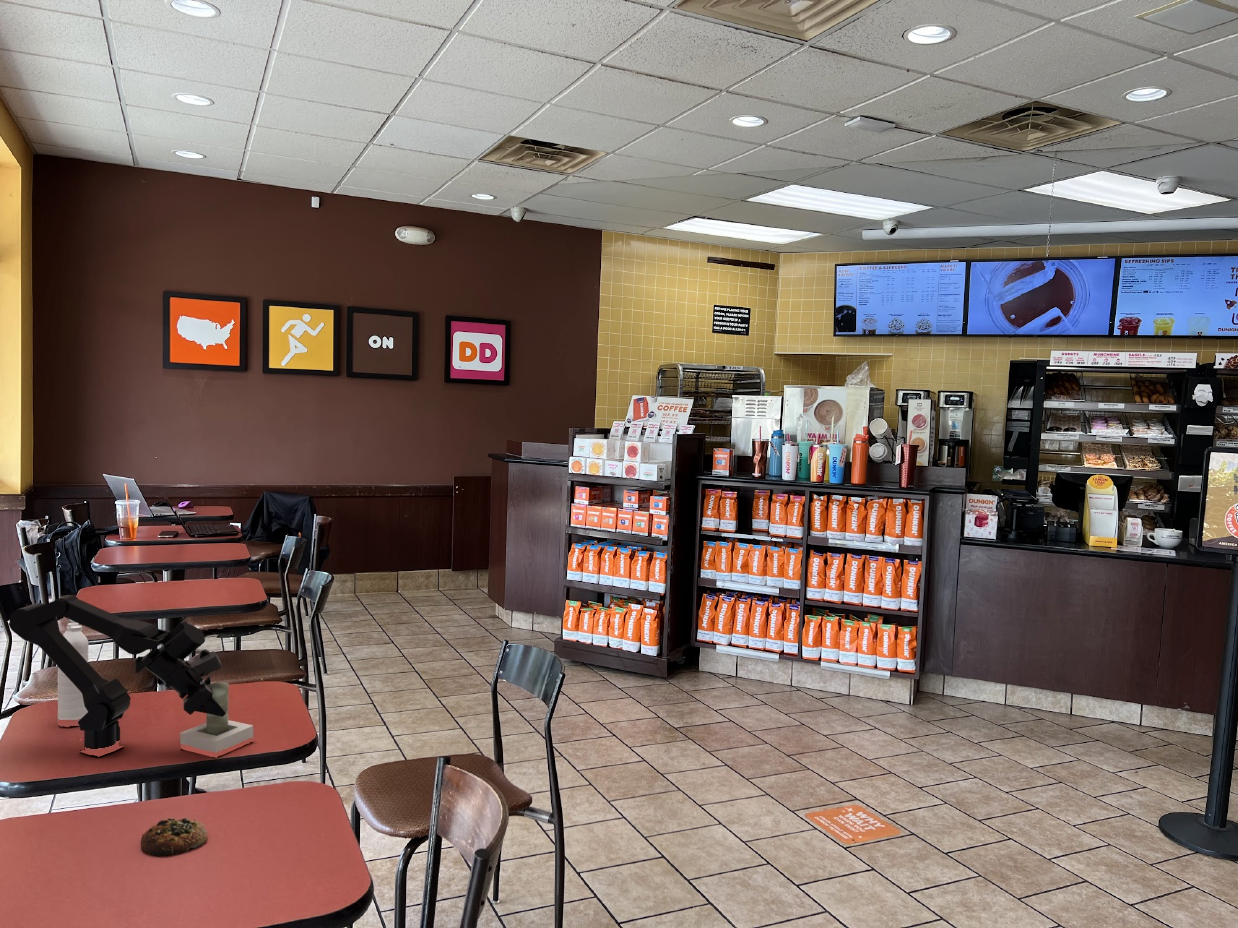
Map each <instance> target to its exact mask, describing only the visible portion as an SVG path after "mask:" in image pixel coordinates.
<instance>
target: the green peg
mask: <svg viewBox="0 0 1238 928" xmlns="http://www.w3.org/2000/svg"><path fill="white" fill-rule="evenodd" d="M207 686H208V687H209V688H211V687H212V690H213V695H212V697H213V698H214V699H215V700H216V701H217V703H218V704H219V705H220V706H221V707H222V708H223V710H224V711H225V712H226V714H225V715H224V716H223V717H221V716H217V715H212V714H207V713H206V721H205V723H206V734H210V735H215V736H218V735H220V734H223V733H225V732H228V720H229V683H228V682H224V681H221V682H219V681H218V682H211V684H209V685H207Z"/></svg>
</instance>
